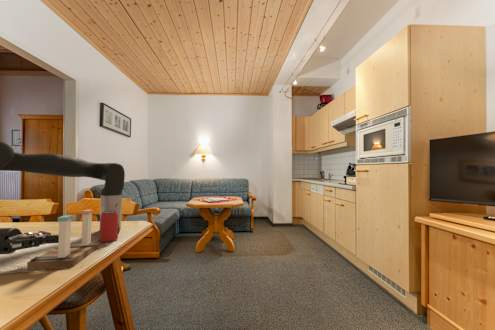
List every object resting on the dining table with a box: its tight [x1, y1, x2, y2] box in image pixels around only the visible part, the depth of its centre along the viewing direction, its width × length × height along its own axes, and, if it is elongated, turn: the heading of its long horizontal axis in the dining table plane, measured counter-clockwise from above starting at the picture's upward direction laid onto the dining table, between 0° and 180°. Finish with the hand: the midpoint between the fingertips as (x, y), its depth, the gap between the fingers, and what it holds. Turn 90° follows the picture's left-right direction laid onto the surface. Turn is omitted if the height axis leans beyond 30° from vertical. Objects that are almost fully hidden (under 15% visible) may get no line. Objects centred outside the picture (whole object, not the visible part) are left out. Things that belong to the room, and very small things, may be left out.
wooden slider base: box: [26, 242, 99, 271], centre depth 80 cm, size 18×12×2 cm, turn 11°
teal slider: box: [57, 214, 74, 258], centre depth 74 cm, size 4×2×12 cm, turn 11°
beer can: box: [99, 211, 119, 243], centre depth 101 cm, size 7×7×12 cm
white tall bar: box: [80, 209, 94, 246], centre depth 86 cm, size 4×2×12 cm, turn 11°
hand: (61, 238), depth 74 cm, fingers closed
